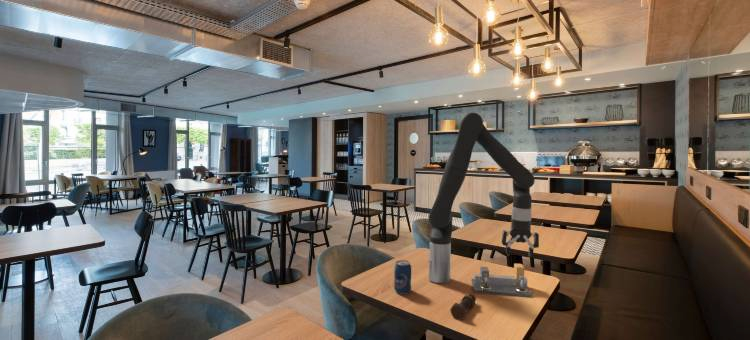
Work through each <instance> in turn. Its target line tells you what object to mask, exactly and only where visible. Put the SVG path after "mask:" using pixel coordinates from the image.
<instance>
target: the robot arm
mask: <svg viewBox="0 0 750 340" xmlns="http://www.w3.org/2000/svg"><path fill="white" fill-rule="evenodd" d="M484 124H485V123H484V120H483V117H482V115H480V114H479V113H477V112H472V111H471V112H466V113H465V114H463V116H462V117H461V118H460V120H459V127H458V132H457V133H458V134H457V137H456V142H455V144H454V146H453V148H452V150H451V152H450V154H449V156H448V159H447V161H446V163H445V167H444V169H443V173H442V177H441V179H440V180H441V181H440V184H439V187H438V192H437V195H436V199H435V200H434V202H433V205H432V206H431V209H430V211H429V213H428V222H429V223H430V225H431V227H430V229H431V230H430V234H429V258H428V261H429V262H428V263H429V264H428V281H429V282H433V283H436V284H447V283H449V282H450V281H451V254H452V253H451V251H452V250H451V247H452V246H451V245H452V234H453V213H452V208H453V205H454V201H455V199H456V197H457V196H458V193H459V191H461V188H462V185H463V184H464V181H465V178H466V176H467V172H468V171H469V166H470V163H471V158H472V154H473V150H474V146H475V144H476V142H477V143H478V144H479V145H480V146H481V147H482V148H483V150H484V151H485V152H486V153H487V154H488V156H490V158H491V159H492V160H493V161H494V162H495V163H496V165H498V167H499V168H501V170H503V172H505V173H506V174H507V175H509V177H511V178H512V190H513V191H512V193H513V200H512V211H511V224H510V231H509V230H508V231H507V230H505V229H503V230H502V236H501V244H502V245H503V246H505V254H506V255H507V257H510V256H511V246H512V245H513V244H514V243H522V244H525V243H527V245H528V246H529V247H528V258H532V257H533V256H534V249H536V248H537V249H538V248H540V236H539V235H540V234H539V233H538V232H537V231H535V232H534V231H533V232H531V229H532V227H531V226H532V200H533V199H532V195H531V191H530V190H531V189H530V188H532V187H533V186H534V184H535V177H534V174H533V173H532V172H531V171H530V170H529V169H528V168H527V167H526V166H524V165H523V163H521V162H519V161H518V159H517V157H515V156H514V155H513V154H512V152H511V151H510V150H509V149H508V148H507V147H506V146H505V145H503V144H502V143H501V142H500V141H499V140H498V139H496V137H494V136H493V134H491V132H490V131H489V130H488V129H487V127H486V126H485V125H484ZM509 235H510V238H509V239H508V241H507V237H508V236H509ZM531 237H532V238H533V243H532V242H531V241H530V238H531Z"/></svg>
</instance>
